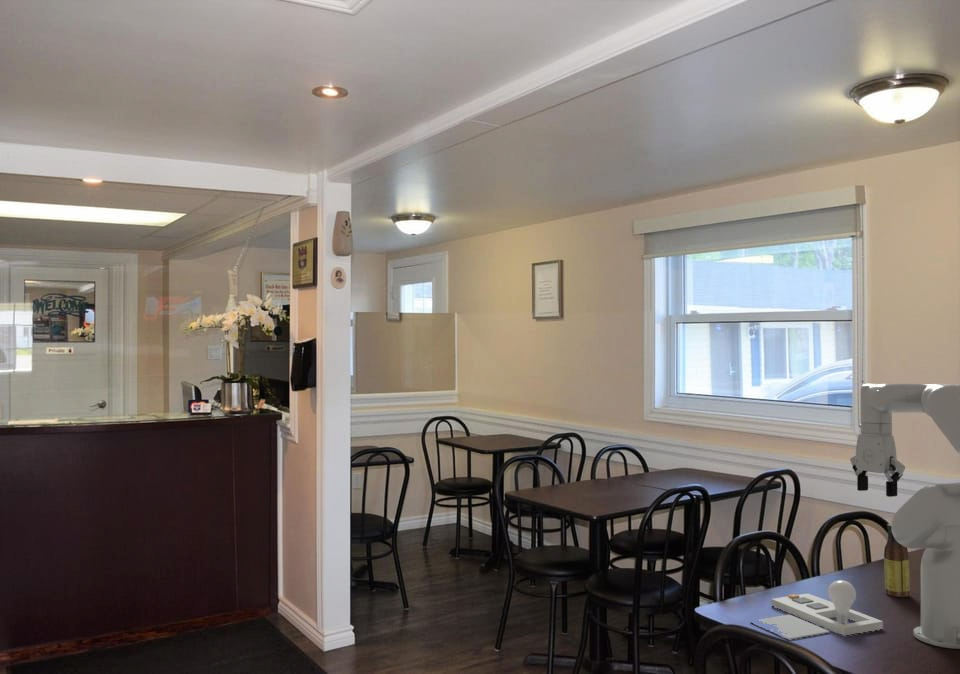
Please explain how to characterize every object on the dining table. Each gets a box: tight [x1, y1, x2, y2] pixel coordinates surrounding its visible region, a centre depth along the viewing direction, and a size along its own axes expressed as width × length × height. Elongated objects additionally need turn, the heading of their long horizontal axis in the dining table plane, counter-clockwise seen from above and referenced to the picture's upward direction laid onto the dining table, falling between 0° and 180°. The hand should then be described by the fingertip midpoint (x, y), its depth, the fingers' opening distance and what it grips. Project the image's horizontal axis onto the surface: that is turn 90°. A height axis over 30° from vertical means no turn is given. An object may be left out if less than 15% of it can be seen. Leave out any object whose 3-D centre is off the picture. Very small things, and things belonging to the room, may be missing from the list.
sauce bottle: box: [883, 522, 911, 598], centre depth 223 cm, size 7×6×20 cm
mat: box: [758, 613, 831, 640], centre depth 195 cm, size 13×13×1 cm
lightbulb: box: [828, 579, 857, 624], centre depth 198 cm, size 6×6×11 cm
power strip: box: [770, 593, 884, 636], centre depth 203 cm, size 24×13×3 cm, turn 23°
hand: (877, 493), depth 212 cm, fingers open, 9 cm apart
